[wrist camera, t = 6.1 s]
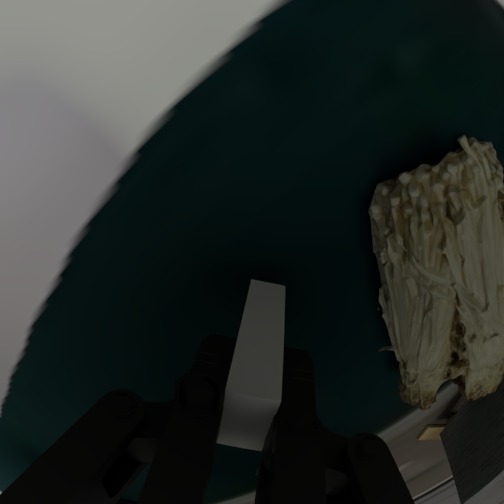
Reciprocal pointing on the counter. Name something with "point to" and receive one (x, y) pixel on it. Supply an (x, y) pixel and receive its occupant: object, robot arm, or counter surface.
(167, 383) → the counter surface
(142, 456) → the robot arm
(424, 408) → the mushroom
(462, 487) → the plate
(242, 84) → the counter surface
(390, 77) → the counter surface
